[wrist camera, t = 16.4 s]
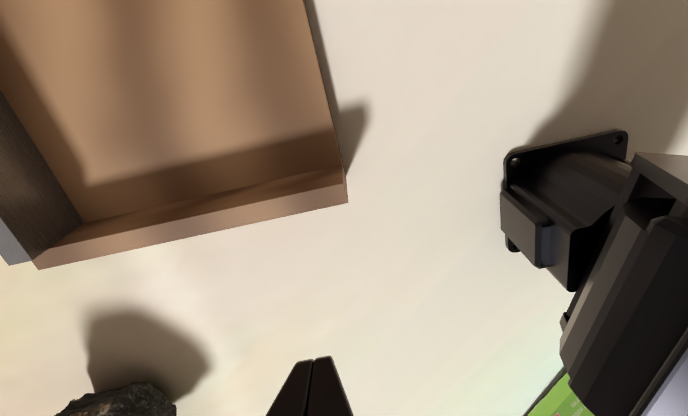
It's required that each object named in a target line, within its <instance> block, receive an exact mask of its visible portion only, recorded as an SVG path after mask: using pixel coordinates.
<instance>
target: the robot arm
mask: <svg viewBox="0 0 688 416" xmlns="http://www.w3.org/2000/svg"><path fill="white" fill-rule="evenodd" d="M617 136H619V139H618V140H617V141H616V142H615V143H614V139H615V138H616V137H617ZM627 143H628V134H627V132H625V131H622V130H619V129H616V130H611V131H606V132H602V133H597V134H593V135H588V136H584V137H579V138H575V139H570V140H565V141H561V142H556V143H552V144H547V145H543V146H538V147H534V148H529V149H525V150H520V151H516V152H512V153H509V154H508V155H507V156H506V157H505V158H504V162H503V168H504V189H503V190H502V191H501V193H500V215H501V230H502V231H503V232H504V233H505V241H506V247H507V248H508V250H509V251H510V252H520V251H521V252H522V253H523V254H524V255H525V256H526V258H527V259H528V260H529V261H530V262H531V263H532V264H533V265H534V266H535V267H537V268H538V269H541V268H546V269H547V270H548V271H549V272H550V273H551V274H552V275H553V276H554V277H555V278H556V279H557V280H558V281H559V282H560V283H561V284H562V286H563V287H564V288H565V289H566V290H567V291H569V292H576V293H575V295H574V297H573V299H572V302H571V304H570V306H569V308H568V310H567V312H564V313H563V315H562V317H561V320H560V325H561V328H562V331H563V334H562V336H561V338H560V357H561V359H562V361H563V364H564V366H565V369H566V371H567V374H568V375H569V377H570V378H569V379H568V385H569V387H570V389H571V390H572V391H573V392H574V394H575V395H576V396H577V397H578V399H579V400H580V401H581V402H582V404H583V405H584V406H585V407H586V408H587V409H588V410H589V411H590V412H591V413H592V414H593V415H594V416H688V156H682V155H668V154H653V153H636V154H635V156H634V158H633V160H632V162H629V161H627V160H625V158H626V151H627ZM514 158H517V162H516V163H515V164H514V165H511V164H510V163H511V161H512V159H514ZM513 244H515V245H516V246H512V245H513ZM266 416H354V415H353V413H352V410H351V407H350V405H349V402H348V399H347V396H346V394H345V391H344V388H343V386H342V383H341V380H340V378H339V375H338V372H337V369H336V367H335V364H334V361H333V359H332V357H331V356H325V357H319V358H316V359H315V360H313V359H308V360H303V361H299V362H297V363H296V364H295V366H294V367H293V369H292V371H291V373H290V374H289V376H288V378H287V379H286V381H285V383H284V385H283V386H282V388H281V390H280V392H279V393H278V395H277V397H276V399H275V400H274V402H273V404H272V406H271V407H270V409H269V411H268V413H267V414H266Z"/></svg>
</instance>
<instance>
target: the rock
mask: <svg viewBox="0 0 688 416" xmlns="http://www.w3.org/2000/svg"><path fill="white" fill-rule="evenodd" d="M54 416H176V406H175V405H174V404H172V403H171V402H170V401H169V400H168V399H167V398H166V396H165V395H163V394H161V391H160V390H159V389H155V388H153V387H152V386H151V385H150V384H149V383H147V382H143V381H142V382H133V383H131V384H130V385H128V386H127V387H125V388H123V389H121V390H110V391H108V392H102V393H87V394H85V395H84V396H83V397H81V398H80V399H77V400H75V399H73V400H72V401H70V402H69V405H68V406H67V407H66V408H65V409H64V410H62V411H61V412H60V413H57V414H56V415H54Z"/></svg>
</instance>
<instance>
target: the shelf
mask: <svg viewBox="0 0 688 416" xmlns="http://www.w3.org/2000/svg"><path fill="white" fill-rule="evenodd" d="M0 90H1V91H2V93H3V94H4V96H5V98H6V99H7V101H8V102H9V104H10V106H11V107H12V109H13V110H14V112H15V113H16V115H17V117H18V118H19V120H20V121H21V123H22V125H23V126H24V128H25V129H26V131H27V132H28V134H29V136H30V137H31V139H32V140H33V142H34V143H35V145H36V147H37V148H38V150H39V151H40V153H41V155H42V156H43V158H44V159H45V161H46V162H47V164H48V166H49V167H50V169H51V170H52V172H53V174H54V175H55V177H56V178H57V180H58V181H59V183H60V185H61V186H62V188H63V189H64V191H65V193H66V194H67V196H68V197H69V199H70V200H71V202H72V204H73V205H74V207H75V208H76V210H77V212H78V213H79V215H80V216H81V218H82V219H83V221H84V224H83V225H81V226H80V227H78V228H77V229H76V230H74V231H73V232H71V233H70V234H69V235H67V236H66V237H64V238H63V239H62V240H60V241H59V242H57V243H56V244H55V245H53V246H52V247H50V248H49V249H48V250H46V251H45V252H43V253H42V254H41V255H39V256H38V257H36V258H35V259H34V260H32V262H33V263H34V265H35V266H36V267H37V269H38V270H41V269H46V268H50V267H55V266H60V265H64V264H69V263H73V262H78V261H83V260H87V259H92V258H96V257H101V256H105V255H110V254H115V253H119V252H124V251H128V250H133V249H138V248H142V247H147V246H151V245H156V244H161V243H165V242H170V241H174V240H179V239H184V238H188V237H193V236H197V235H202V234H206V233H211V232H216V231H220V230H225V229H229V228H234V227H239V226H243V225H248V224H252V223H257V222H262V221H266V220H271V219H275V218H280V217H285V216H289V215H294V214H298V213H303V212H307V211H312V210H317V209H321V208H326V207H330V206H335V205H340V204H344V203H348V195H347V183H346V175H345V171H344V167H343V162H342V158H341V154H340V150H339V146H338V142H337V137H336V133H335V129H334V125H333V121H332V117H331V112H330V108H329V104H328V100H327V96H326V92H325V87H324V83H323V79H322V75H321V71H320V67H319V62H318V58H317V54H316V50H315V46H314V42H313V38H312V33H311V29H310V25H309V21H308V17H307V13H306V8H305V4H304V0H0Z"/></svg>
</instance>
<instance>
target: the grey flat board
mask: <svg viewBox="0 0 688 416" xmlns="http://www.w3.org/2000/svg"><path fill="white" fill-rule="evenodd" d="M83 224H84V221H83V219H82V218H81V216H80V215H79V213H78V212H77V210H76V208H75V207H74V205H73V204H72V202H71V200H70V199H69V197H68V196H67V194H66V193H65V191H64V189H63V188H62V186H61V185H60V183H59V181H58V180H57V178H56V177H55V175H54V174H53V172H52V170H51V169H50V167H49V166H48V164H47V162H46V161H45V159H44V158H43V156H42V155H41V153H40V151H39V150H38V148H37V147H36V145H35V143H34V142H33V140H32V139H31V137H30V136H29V134H28V132H27V131H26V129H25V128H24V126H23V125H22V123H21V121H20V120H19V118H18V117H17V115H16V113H15V112H14V110H13V109H12V107H11V106H10V104H9V102H8V101H7V99H6V98H5V96H4V94H3V93H2V91H1V90H0V255H1V256H2V257H3V259H4V260H5V261H6V263H7V264H8V265H9V266H10V265H14V264H19V263H23V262H28V261H32V260H34V259H35V258H36V257H38V256H39V255H41V254H42V253H43V252H45V251H46V250H48V249H49V248H50V247H52V246H53V245H55V244H56V243H57V242H59V241H60V240H62V239H63V238H64V237H66V236H67V235H69V234H70V233H71V232H73V231H74V230H76V229H77V228H78V227H80V226H81V225H83Z"/></svg>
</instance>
